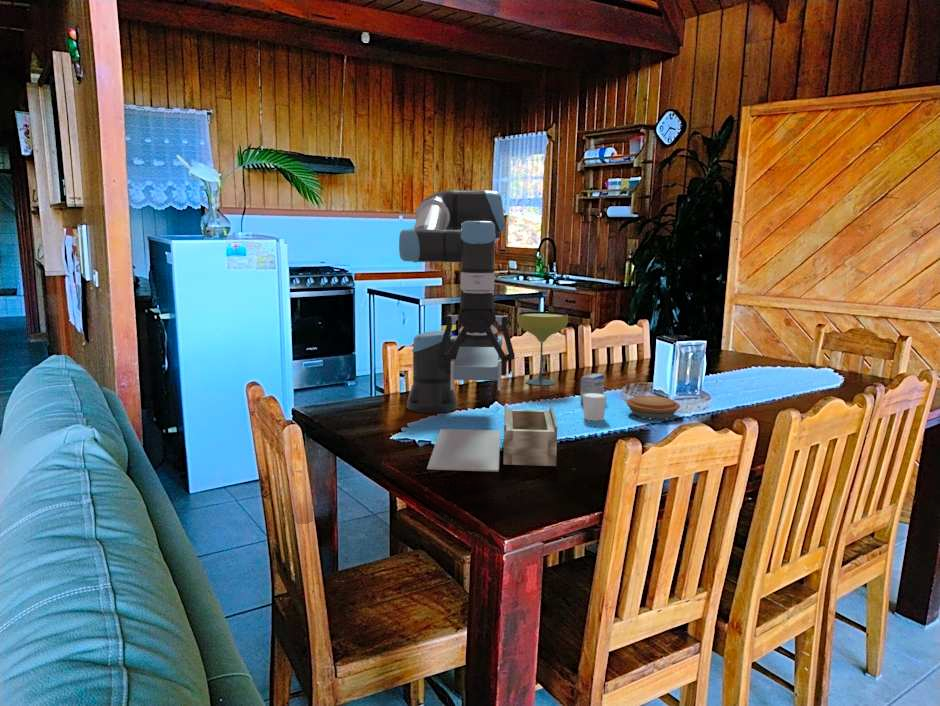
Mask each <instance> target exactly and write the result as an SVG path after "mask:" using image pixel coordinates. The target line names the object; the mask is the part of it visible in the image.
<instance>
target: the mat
mask: <svg viewBox="0 0 940 706" xmlns="http://www.w3.org/2000/svg"><path fill="white" fill-rule="evenodd" d="M500 444H501V430H499V429H498V430H497V429H494V430H493V429H491V430H490V429H462V428H461V429H457V428H456V429H454V428H453V429H452V428H451V429H450V428H440V430H439V432H438V436H437V438H436V441H435V444H434V448H433V450H432V452H431V456H430V458H429V461H428V465H427V467H426V470H435V471H460V472H461V471H465V472H467V471H468V472H469V471H470V472H496V473H498V472H499V471H500V446H501V445H500Z"/></svg>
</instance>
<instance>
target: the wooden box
mask: <svg viewBox="0 0 940 706" xmlns="http://www.w3.org/2000/svg"><path fill="white" fill-rule="evenodd" d="M503 408H504V411H503V412H504V413H503V415H504V417H503V457H502V458H503V465H510V466H511V465H514V466H542V467H543V466H544V467H547V466H549V467H557V454H558V453H557V450H558V448H557V447H558V444H557V443H558V424H557V421H556V417H555V412H554V409H553V405H549V409H548V410H546V409H545V410H544V409H542V410H541V409H540V410H539V409H510V408H509V409H508V408H507V404H504V407H503Z"/></svg>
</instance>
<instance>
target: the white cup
mask: <svg viewBox="0 0 940 706" xmlns="http://www.w3.org/2000/svg"><path fill="white" fill-rule="evenodd" d="M607 399H608V396H607V395H606V394H605V393H604V394H601V393H585V394H583V403H582V404H583V407H582V409H583V419H584V420H587V421H590V420H593V421H592V422H599V421H598V420H601V421H604V419H605V414H606V413H605V412H606V406H607V405H606V404H607Z"/></svg>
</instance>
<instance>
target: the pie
mask: <svg viewBox="0 0 940 706" xmlns="http://www.w3.org/2000/svg"><path fill="white" fill-rule="evenodd" d="M625 403H626V405H627V406H628V407H629V410H630V411H631V413H632V415H633V414H635V415H637V416H639V417H638V418H640V417H644V418H651V419H650V420H652V419H663V420H667V419H666V418H669V419H671V418H672V417H673V416H674V414H675V413H676V412H677V411H678V409H680V406H681V405H680V404H679V403H678V402H676V401H674V400H673V399H672V398H668V397H663V396H656V395H639V396H634V397H632V398H630V399H627V400H626V402H625ZM635 415H634V416H635ZM637 416H636V417H637ZM670 417H671V418H670ZM644 418H643V419H644Z"/></svg>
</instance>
